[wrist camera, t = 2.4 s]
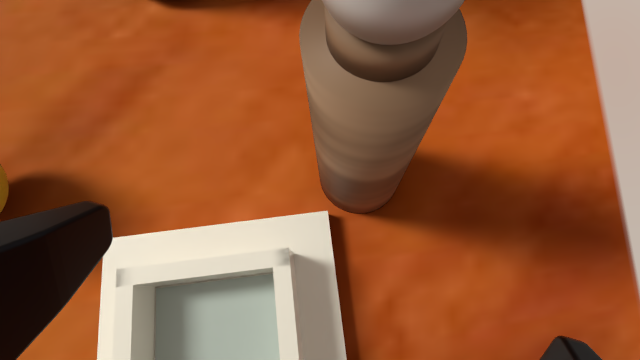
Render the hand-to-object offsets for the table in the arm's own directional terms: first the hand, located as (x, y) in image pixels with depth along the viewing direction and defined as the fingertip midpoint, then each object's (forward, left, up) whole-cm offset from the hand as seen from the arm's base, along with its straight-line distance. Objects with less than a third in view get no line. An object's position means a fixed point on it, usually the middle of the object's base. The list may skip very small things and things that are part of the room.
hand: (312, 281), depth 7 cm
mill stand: (-2, +6, -13) cm, 14 cm away
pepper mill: (+6, -2, -13) cm, 14 cm away
